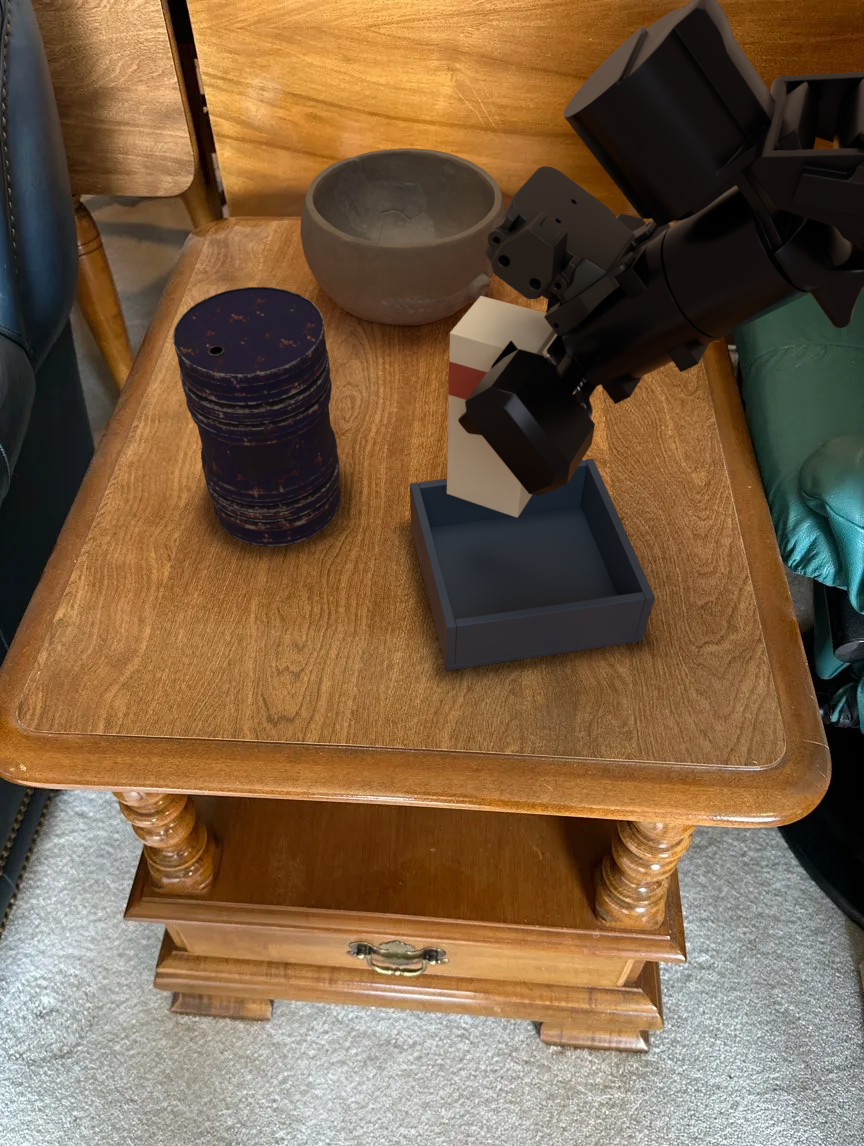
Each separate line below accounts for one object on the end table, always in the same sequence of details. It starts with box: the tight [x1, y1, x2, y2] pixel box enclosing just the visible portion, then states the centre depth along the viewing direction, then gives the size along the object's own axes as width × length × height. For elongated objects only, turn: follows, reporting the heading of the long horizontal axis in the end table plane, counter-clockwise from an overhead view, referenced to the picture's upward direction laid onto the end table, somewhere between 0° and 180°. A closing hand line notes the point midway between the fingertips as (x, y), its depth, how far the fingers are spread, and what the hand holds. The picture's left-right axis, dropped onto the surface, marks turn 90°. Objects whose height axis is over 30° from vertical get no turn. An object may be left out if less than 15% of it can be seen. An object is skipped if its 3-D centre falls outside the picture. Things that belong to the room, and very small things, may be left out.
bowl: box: [299, 147, 505, 326], centre depth 85 cm, size 17×18×10 cm
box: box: [409, 458, 656, 672], centre depth 65 cm, size 13×13×4 cm
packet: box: [446, 296, 556, 518], centre depth 57 cm, size 5×4×12 cm
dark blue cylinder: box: [172, 286, 342, 547], centre depth 67 cm, size 10×10×15 cm
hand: (479, 404), depth 58 cm, fingers closed on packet, 4 cm apart
